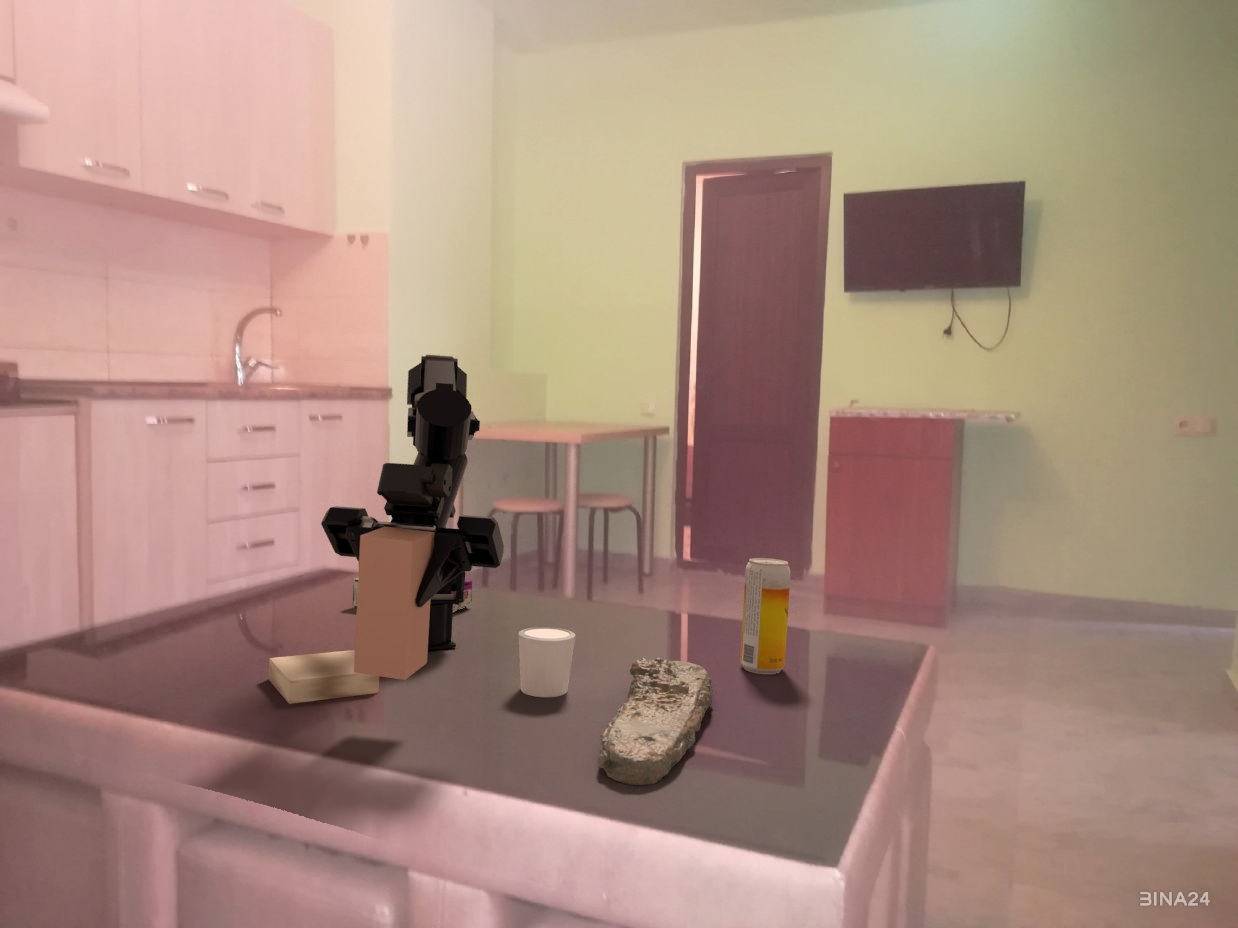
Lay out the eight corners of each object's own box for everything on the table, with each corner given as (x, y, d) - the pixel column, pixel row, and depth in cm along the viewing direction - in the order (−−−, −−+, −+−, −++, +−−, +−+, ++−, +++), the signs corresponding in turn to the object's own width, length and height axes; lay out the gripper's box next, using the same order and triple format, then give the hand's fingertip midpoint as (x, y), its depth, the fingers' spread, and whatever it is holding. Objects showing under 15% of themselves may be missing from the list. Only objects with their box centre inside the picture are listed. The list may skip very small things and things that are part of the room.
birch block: (352, 673, 111) (353, 649, 111) (378, 696, 103) (379, 670, 102) (268, 682, 105) (269, 658, 105) (288, 707, 97) (290, 680, 97)
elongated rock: (570, 794, 81) (677, 816, 79) (575, 739, 81) (683, 759, 78) (643, 673, 115) (720, 686, 113) (648, 634, 115) (724, 646, 113)
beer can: (792, 670, 122) (799, 562, 121) (768, 678, 117) (775, 565, 117) (756, 660, 126) (762, 556, 125) (730, 667, 122) (737, 559, 121)
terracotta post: (378, 655, 94) (384, 526, 93) (426, 662, 93) (434, 532, 92) (353, 672, 89) (360, 535, 87) (405, 679, 88) (412, 541, 86)
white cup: (528, 701, 102) (531, 641, 102) (507, 684, 108) (510, 627, 108) (582, 695, 106) (585, 637, 105) (558, 679, 112) (561, 624, 111)
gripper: (332, 431, 95) (275, 546, 84) (501, 441, 92) (464, 561, 82) (361, 498, 103) (311, 611, 93) (517, 509, 101) (484, 626, 90)
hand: (389, 602), depth 89 cm, fingers closed on terracotta post, 6 cm apart
